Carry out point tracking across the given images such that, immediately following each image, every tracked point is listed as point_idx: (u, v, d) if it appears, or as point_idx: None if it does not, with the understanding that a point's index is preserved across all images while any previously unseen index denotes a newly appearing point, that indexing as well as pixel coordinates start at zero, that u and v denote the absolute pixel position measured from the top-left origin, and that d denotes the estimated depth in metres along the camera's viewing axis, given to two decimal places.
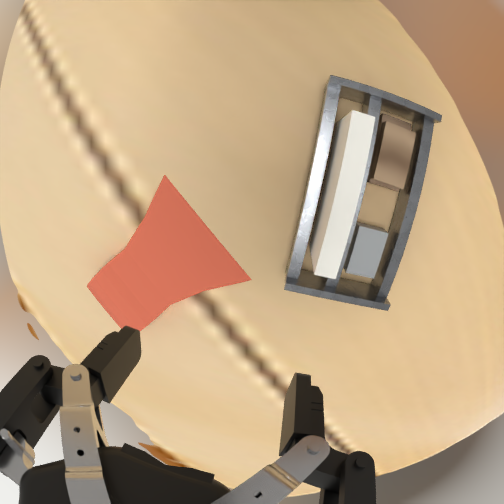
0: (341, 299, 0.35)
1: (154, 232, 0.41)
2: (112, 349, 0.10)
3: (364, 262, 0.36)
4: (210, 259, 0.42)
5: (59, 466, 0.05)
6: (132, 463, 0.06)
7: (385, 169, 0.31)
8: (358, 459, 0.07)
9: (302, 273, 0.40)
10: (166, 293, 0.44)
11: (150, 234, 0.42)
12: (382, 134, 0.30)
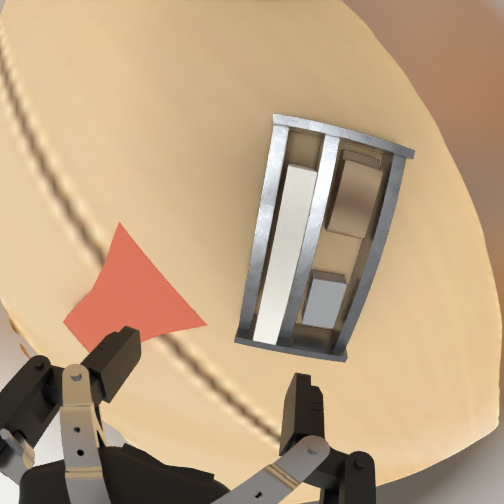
0: (293, 352, 0.34)
1: (115, 278, 0.41)
2: (112, 349, 0.10)
3: (320, 313, 0.35)
4: (167, 305, 0.41)
5: (59, 466, 0.05)
6: (132, 463, 0.06)
7: (342, 217, 0.29)
8: (358, 459, 0.07)
9: None
10: None
11: (111, 280, 0.41)
12: (341, 175, 0.28)
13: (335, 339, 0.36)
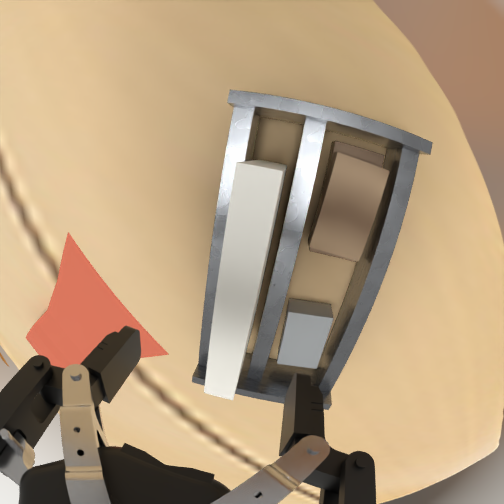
0: (264, 397, 0.26)
1: (68, 297, 0.33)
2: (112, 349, 0.10)
3: (300, 352, 0.27)
4: None
5: (59, 466, 0.05)
6: (132, 463, 0.06)
7: (330, 232, 0.22)
8: (358, 459, 0.07)
9: None
10: None
11: (65, 299, 0.33)
12: (330, 174, 0.20)
13: (318, 381, 0.28)
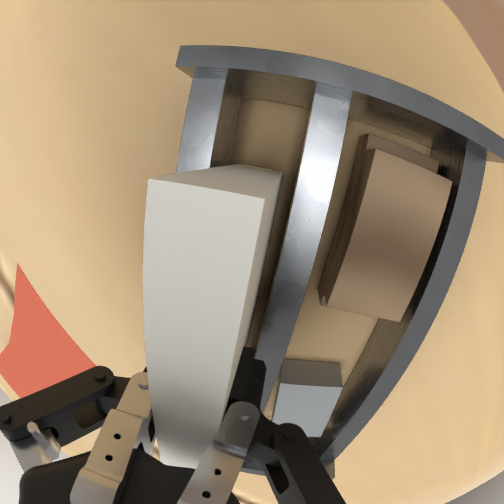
0: (251, 472, 0.18)
1: (26, 332, 0.24)
2: None
3: (299, 423, 0.19)
4: None
5: (59, 466, 0.05)
6: (132, 463, 0.06)
7: (360, 284, 0.13)
8: (285, 431, 0.08)
9: None
10: None
11: (23, 333, 0.24)
12: (362, 186, 0.12)
13: (319, 449, 0.20)
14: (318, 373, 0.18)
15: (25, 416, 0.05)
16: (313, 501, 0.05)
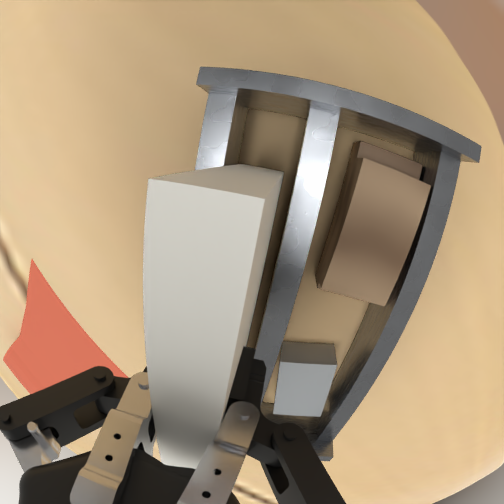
0: None
1: (38, 325, 0.27)
2: None
3: (299, 402, 0.21)
4: (94, 364, 0.28)
5: (59, 466, 0.05)
6: (132, 463, 0.06)
7: (349, 270, 0.15)
8: (286, 431, 0.08)
9: None
10: None
11: (35, 326, 0.27)
12: (352, 189, 0.14)
13: (318, 429, 0.22)
14: (314, 353, 0.21)
15: (25, 416, 0.05)
16: (313, 501, 0.05)
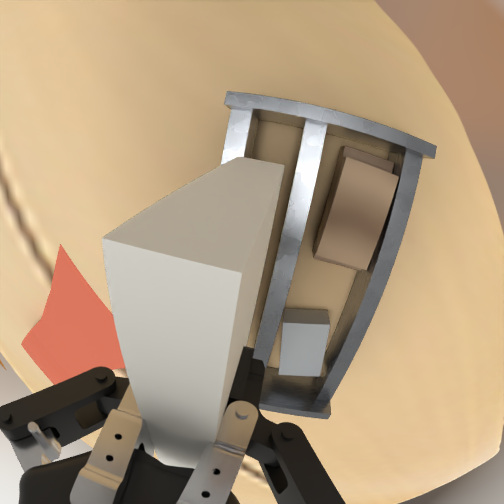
0: (262, 407, 0.25)
1: (61, 306, 0.32)
2: None
3: (300, 361, 0.27)
4: (115, 340, 0.33)
5: (59, 466, 0.05)
6: (132, 463, 0.06)
7: (337, 240, 0.21)
8: (284, 431, 0.08)
9: None
10: (84, 365, 0.34)
11: (58, 308, 0.32)
12: (338, 179, 0.20)
13: (317, 390, 0.27)
14: (311, 316, 0.26)
15: (26, 416, 0.06)
16: (312, 500, 0.05)
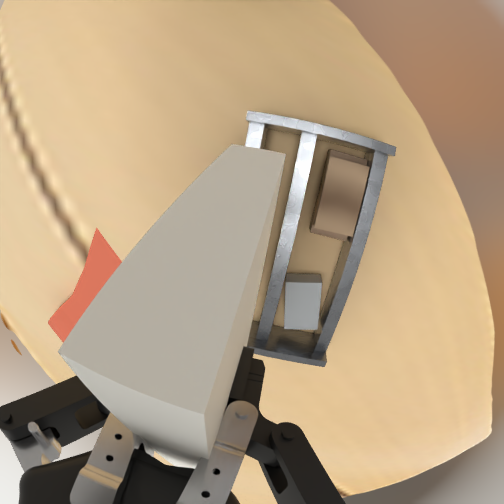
0: (270, 355, 0.34)
1: (93, 283, 0.41)
2: None
3: (301, 316, 0.35)
4: None
5: (59, 466, 0.05)
6: (132, 463, 0.06)
7: (328, 216, 0.29)
8: (284, 431, 0.08)
9: None
10: None
11: (90, 284, 0.41)
12: (325, 172, 0.28)
13: (315, 343, 0.36)
14: (307, 278, 0.34)
15: (26, 416, 0.06)
16: (312, 500, 0.05)
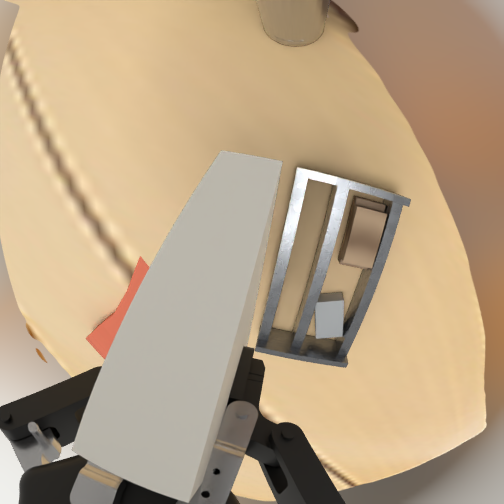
0: (304, 359, 0.41)
1: None
2: None
3: (329, 327, 0.42)
4: None
5: (59, 466, 0.05)
6: None
7: (354, 253, 0.36)
8: (284, 431, 0.08)
9: (273, 333, 0.45)
10: None
11: None
12: (353, 219, 0.35)
13: (338, 348, 0.43)
14: (331, 296, 0.42)
15: (26, 416, 0.06)
16: (312, 501, 0.05)
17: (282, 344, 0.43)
